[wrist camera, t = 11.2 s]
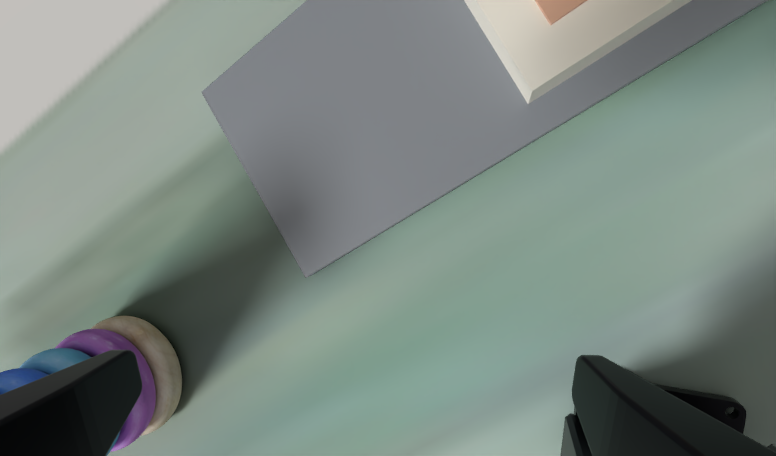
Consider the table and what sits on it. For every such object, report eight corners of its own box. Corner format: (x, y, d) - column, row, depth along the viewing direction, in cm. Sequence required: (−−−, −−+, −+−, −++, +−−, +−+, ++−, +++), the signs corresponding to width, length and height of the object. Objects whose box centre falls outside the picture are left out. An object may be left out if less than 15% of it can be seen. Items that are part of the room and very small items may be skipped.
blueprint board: (617, -249, 16) (649, -371, 13) (780, -8, 15) (863, -65, 12) (213, 96, 23) (161, 79, 20) (313, 274, 22) (278, 290, 19)
